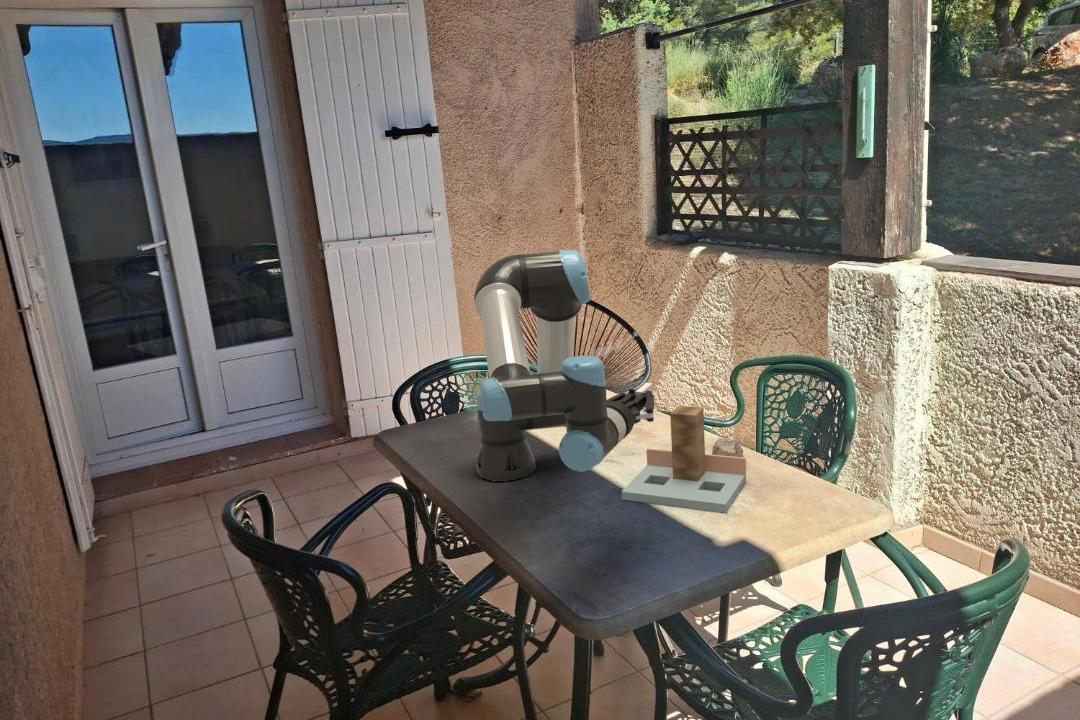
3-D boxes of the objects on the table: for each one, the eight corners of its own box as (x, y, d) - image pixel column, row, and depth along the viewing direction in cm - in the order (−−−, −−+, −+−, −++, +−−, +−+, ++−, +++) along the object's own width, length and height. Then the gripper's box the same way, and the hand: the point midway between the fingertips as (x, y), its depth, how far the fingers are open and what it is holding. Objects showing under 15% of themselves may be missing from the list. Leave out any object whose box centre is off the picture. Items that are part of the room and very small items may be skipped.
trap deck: (622, 499, 186) (620, 475, 185) (648, 471, 202) (647, 448, 200) (726, 513, 175) (725, 487, 174) (746, 481, 190) (745, 457, 189)
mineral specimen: (754, 473, 195) (753, 449, 193) (725, 477, 194) (724, 453, 193) (734, 455, 207) (734, 432, 206) (707, 459, 206) (706, 435, 205)
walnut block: (673, 478, 191) (670, 413, 187) (681, 469, 196) (678, 405, 192) (698, 481, 188) (695, 415, 184) (705, 471, 193) (703, 407, 189)
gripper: (578, 441, 158) (621, 403, 179) (642, 447, 153) (679, 407, 173) (575, 404, 156) (619, 370, 177) (640, 409, 151) (678, 373, 171)
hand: (649, 389), depth 175 cm, fingers closed
